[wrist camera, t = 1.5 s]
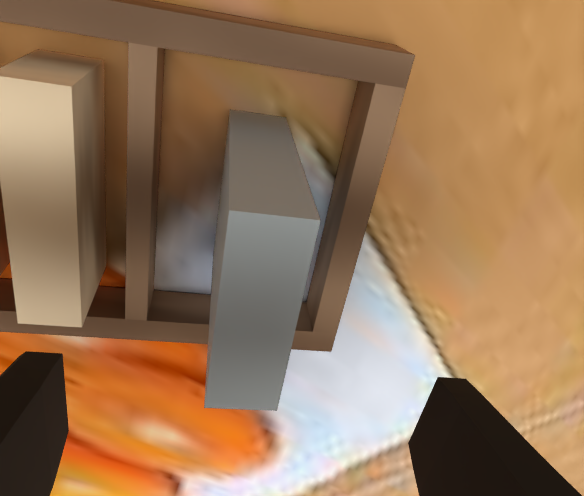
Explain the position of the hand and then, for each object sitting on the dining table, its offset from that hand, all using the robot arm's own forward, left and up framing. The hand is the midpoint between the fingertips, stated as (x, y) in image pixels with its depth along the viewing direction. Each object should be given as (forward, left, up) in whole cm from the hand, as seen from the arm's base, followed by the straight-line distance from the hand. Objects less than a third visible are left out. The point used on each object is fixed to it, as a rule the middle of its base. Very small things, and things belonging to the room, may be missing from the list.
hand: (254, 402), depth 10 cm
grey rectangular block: (0, 0, -11) cm, 11 cm away
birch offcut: (0, +6, -11) cm, 12 cm away
